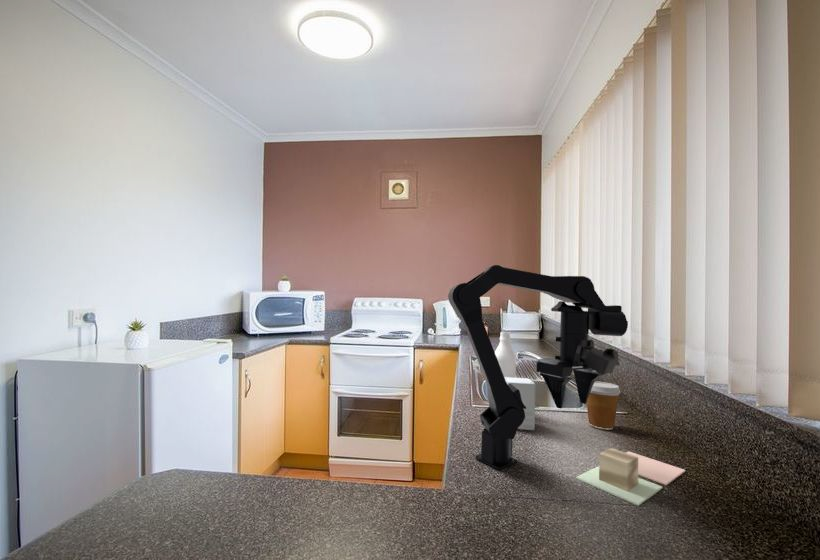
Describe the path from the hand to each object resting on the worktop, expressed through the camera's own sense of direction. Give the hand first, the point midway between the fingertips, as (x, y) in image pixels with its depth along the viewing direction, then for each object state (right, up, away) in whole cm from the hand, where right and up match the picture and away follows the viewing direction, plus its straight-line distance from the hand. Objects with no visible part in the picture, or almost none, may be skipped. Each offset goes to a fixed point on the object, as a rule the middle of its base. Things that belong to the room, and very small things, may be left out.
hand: (571, 405), depth 77 cm
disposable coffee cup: (+20, -15, +25) cm, 35 cm away
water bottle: (-6, -14, +34) cm, 38 cm away
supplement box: (-5, -14, +23) cm, 27 cm away
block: (+5, -12, -9) cm, 15 cm away
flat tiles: (+10, -12, -5) cm, 17 cm away
